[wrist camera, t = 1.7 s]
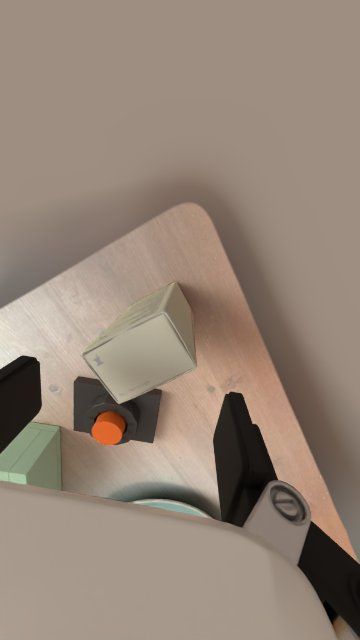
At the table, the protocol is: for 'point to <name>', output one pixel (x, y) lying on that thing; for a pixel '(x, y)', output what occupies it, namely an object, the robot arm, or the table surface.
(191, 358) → the cosmetic box
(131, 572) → the robot arm
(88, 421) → the block
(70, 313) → the table surface
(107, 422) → the button
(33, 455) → the mint green storage bin
